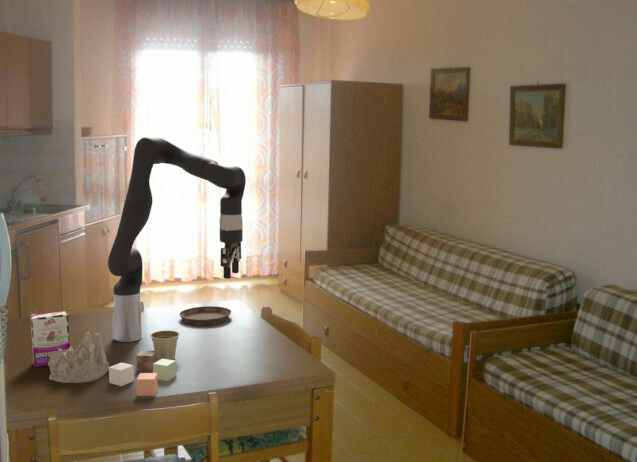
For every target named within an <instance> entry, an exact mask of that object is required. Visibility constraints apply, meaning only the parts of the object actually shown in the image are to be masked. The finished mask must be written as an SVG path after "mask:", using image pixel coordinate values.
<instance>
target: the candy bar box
mask: <svg viewBox="0 0 637 462" xmlns="http://www.w3.org/2000/svg"><path fill="white" fill-rule="evenodd" d="M29 317H30V318H29V319H30V329H31V332H30V333H31V343H32V344H31V347H32V348H31V349H32V360H33V361H32V363H33V367H34V368H35V367H38V368H44V367H43V366H45V367H49V366H48V362H49V359H50V356H51V354H52V353H56V354H58V349H63V350H62V351H63V353H65V352H66V351H67V350H68V349H69V348H70V347H71V346H70V345H71V344H70V328H69V314H68V312H67V311H58V312H57V311H56V312H49V313H41V314H40V313H39V314H30V316H29Z"/></svg>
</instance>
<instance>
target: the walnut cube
mask: <svg viewBox="0 0 637 462" xmlns="http://www.w3.org/2000/svg"><path fill="white" fill-rule="evenodd" d="M135 356H136V358H135V359H136V361H135V363H136V371H144V372H153V363H155V362H157V351H154V350H146V349H145V350H140V351H139V352H138V353H137V354H136V355H135Z"/></svg>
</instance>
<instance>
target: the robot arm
mask: <svg viewBox="0 0 637 462" xmlns="http://www.w3.org/2000/svg"><path fill="white" fill-rule="evenodd" d="M160 164H166V165H173V166H176V167H178V168H181V169H183V170H184V172H186V173H188V174H190V175H192V176H193V177H197V178H200V179H202V180H205V181H208V182H209V183H211V184H213V185H214V186H216V187H218V188H222V189H225V194H224V195H223V196H222V197H220V201H219V203H220V204H219V205H220V207H219V209H220V210H219V211H220V212H219V213H220V215H219V241H220V243H224V247H221V248H220V267H222V268H223V278H224V279H226V280H228V279H231V278H232V276H231V273H232V274H239V272H240V270H239V269H240V267H239V266H240V265H239V264H240V260H241V259H242V242H243V239H244V238H243V237H244V235H243V228H244V225H243V224H244V223H243V222H244V221H243V208H242V207H243V206H242V205H243V204H242V201H243V197H244V192H245V188H246V182H247V180H246V174H245V172H244V170H243V168H241V167H240V166H236V165H235V166H224V165H220V164H219V163H218V162H217V161H215V160H213V159H211V158H208V157H205V156H202V155H199V154H197V153H193V152H191V151H188V150H185V149H183V148H181V147H179V146H177V145H175V144H174V143H171V142H170V141H168V140H166V139H164V138H162V137H160V136H145V137H141V138H139V140H137V143H136V144H135V147H134V151H133V159H132V167H131V174H130V179H129V184H128V187H127V192H126V196H125V199H124V203H123V207H122V212H121V217H120V222H119V224H118V228H117V232H116V235H115V239H114V241H113V244H112V246H111V249H110V252H109V255H108V259H107V267H108V271H109V272H110V273H111V275H113V276H116V277H120V278H119V279H118V281H117V282H116V283H115V284H114V286H113V307H114V308H113V310H114V311H113V313H112V315H111V319H112V320H111V321H112V324H111V325H112V340H115V341H116V342H120V343H131V342H136V341H139V340H141V339H142V306H141V287H142V285H143V267H144V266H143V257H142V254H141V253H140V251H139V250H138V249H137V248H134V247H133V245H134V243H135V241H136V239H137V237H138V236H139V235H140V233H142V231H143V229H144V227H145V226H146V225H147V222H148V221H149V219H150V216H151V215H150V214H151V211H152V207H153V201H154V200H153V195H152V194H153V193H152V189H151V185H150V183H151V182H150V180H151V174H152V170H153V168H154V165H160Z"/></svg>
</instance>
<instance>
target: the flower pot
mask: <svg viewBox="0 0 637 462" xmlns="http://www.w3.org/2000/svg"><path fill="white" fill-rule="evenodd" d="M149 337H150V338H151V341H152V345H153V351H157V361H159V360H161V359H168V360H175V359H176V351H177V344H178V343H177V342H178V340H179V337H180V333H179V332H178V331H175V330H167V329H166V330H165V329H164V330H158V331H155V332H152V333H150V336H149Z"/></svg>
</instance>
